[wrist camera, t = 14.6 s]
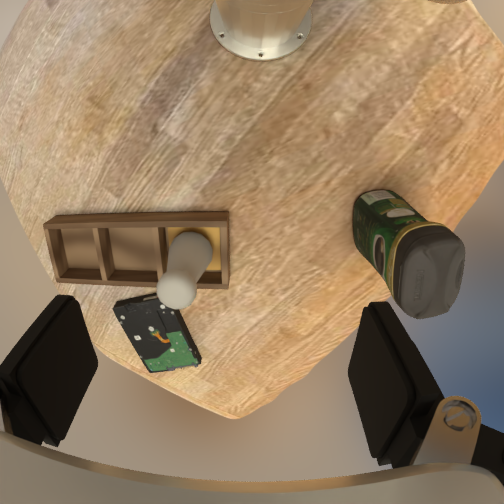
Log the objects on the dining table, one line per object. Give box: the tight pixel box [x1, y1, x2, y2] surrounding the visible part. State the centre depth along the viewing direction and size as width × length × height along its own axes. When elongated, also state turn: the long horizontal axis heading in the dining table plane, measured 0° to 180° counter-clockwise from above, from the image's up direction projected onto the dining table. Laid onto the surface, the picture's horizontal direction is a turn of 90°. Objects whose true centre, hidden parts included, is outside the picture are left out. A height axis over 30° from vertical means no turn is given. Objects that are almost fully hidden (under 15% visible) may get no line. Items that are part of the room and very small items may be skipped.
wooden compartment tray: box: [43, 211, 230, 289], centre depth 43 cm, size 10×27×4 cm, turn 89°
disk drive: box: [113, 293, 202, 373], centre depth 50 cm, size 10×3×15 cm
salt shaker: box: [157, 231, 213, 309], centre depth 38 cm, size 6×6×13 cm
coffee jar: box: [353, 190, 465, 319], centre depth 35 cm, size 10×8×19 cm
